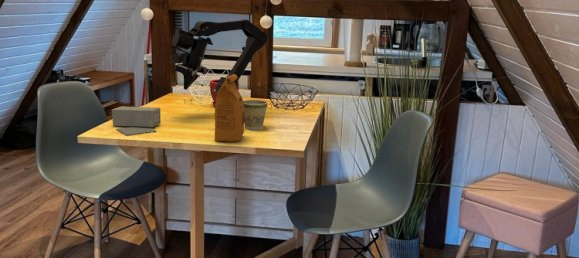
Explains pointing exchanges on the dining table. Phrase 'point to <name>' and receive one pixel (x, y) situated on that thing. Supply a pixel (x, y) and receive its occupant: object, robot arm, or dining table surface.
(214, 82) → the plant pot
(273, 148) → the dining table surface
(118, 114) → the skincare box
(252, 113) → the ceramic cup
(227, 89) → the coffee package
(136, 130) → the mat
